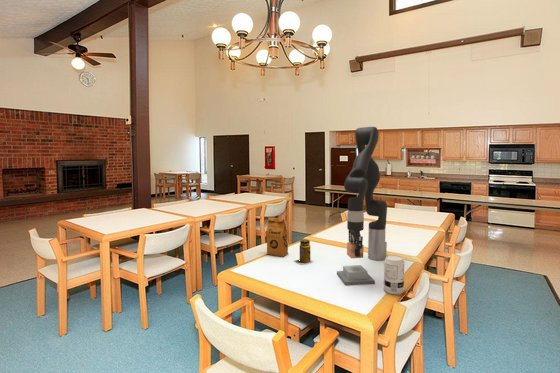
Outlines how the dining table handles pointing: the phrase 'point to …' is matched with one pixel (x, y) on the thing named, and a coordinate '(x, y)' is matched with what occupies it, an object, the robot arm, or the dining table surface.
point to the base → (355, 282)
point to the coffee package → (277, 237)
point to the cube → (353, 250)
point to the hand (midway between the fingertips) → (355, 254)
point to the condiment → (304, 252)
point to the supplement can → (394, 274)
